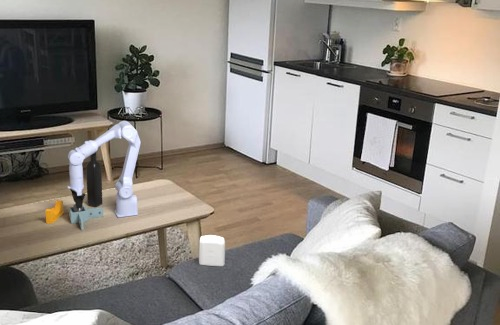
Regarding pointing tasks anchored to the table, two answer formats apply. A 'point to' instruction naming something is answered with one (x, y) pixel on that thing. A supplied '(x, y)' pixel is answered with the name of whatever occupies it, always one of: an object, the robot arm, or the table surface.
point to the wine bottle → (94, 182)
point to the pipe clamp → (54, 212)
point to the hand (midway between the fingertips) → (77, 204)
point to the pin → (77, 208)
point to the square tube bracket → (84, 215)
